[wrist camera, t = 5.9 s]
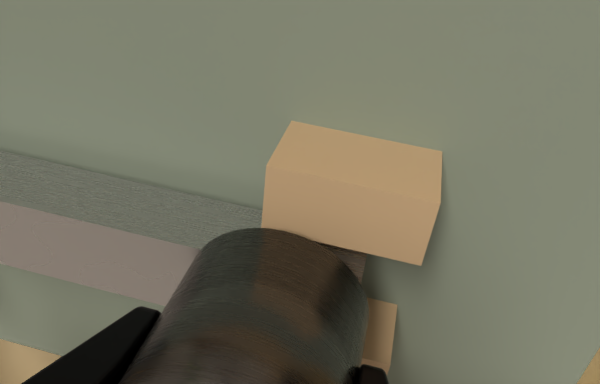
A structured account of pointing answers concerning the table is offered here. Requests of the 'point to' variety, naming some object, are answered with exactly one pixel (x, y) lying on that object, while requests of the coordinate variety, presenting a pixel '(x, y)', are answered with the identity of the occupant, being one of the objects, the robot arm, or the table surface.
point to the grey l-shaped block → (191, 276)
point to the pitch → (341, 158)
